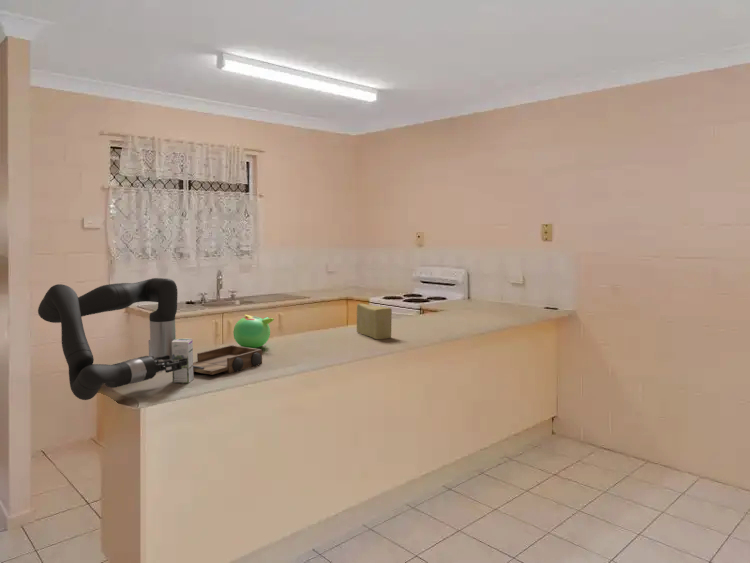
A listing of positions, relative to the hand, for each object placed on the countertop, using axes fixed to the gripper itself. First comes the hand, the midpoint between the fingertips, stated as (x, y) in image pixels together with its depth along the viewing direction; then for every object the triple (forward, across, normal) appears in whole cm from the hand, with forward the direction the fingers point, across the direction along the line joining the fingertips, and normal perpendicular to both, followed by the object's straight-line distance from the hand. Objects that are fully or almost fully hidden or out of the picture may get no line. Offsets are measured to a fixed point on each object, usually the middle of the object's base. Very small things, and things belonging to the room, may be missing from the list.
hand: (177, 359), depth 195 cm
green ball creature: (+58, -17, -9) cm, 61 cm away
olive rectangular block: (+110, +12, -9) cm, 111 cm away
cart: (+28, -2, -8) cm, 29 cm away
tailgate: (+14, -2, -7) cm, 16 cm away
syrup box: (+3, 0, -8) cm, 9 cm away
